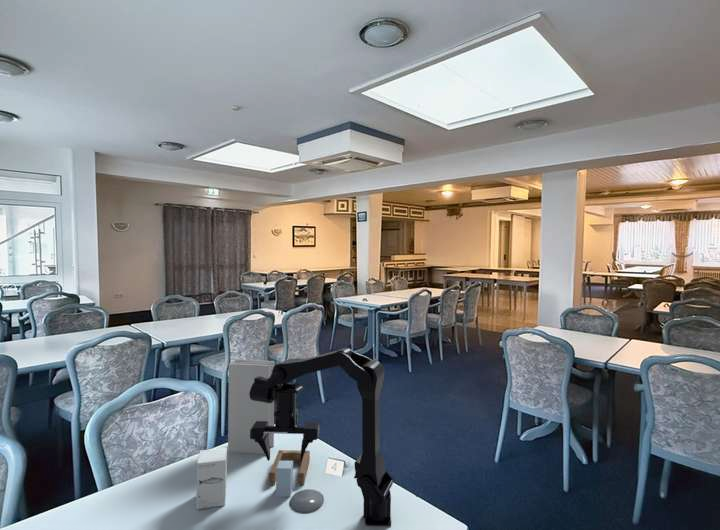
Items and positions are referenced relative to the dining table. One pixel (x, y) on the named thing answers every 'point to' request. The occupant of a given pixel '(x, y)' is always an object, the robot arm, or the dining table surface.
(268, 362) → the tall grey box
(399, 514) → the dining table surface
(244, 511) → the dining table surface
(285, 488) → the block
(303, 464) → the frame
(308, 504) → the coaster
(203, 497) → the supplement box
